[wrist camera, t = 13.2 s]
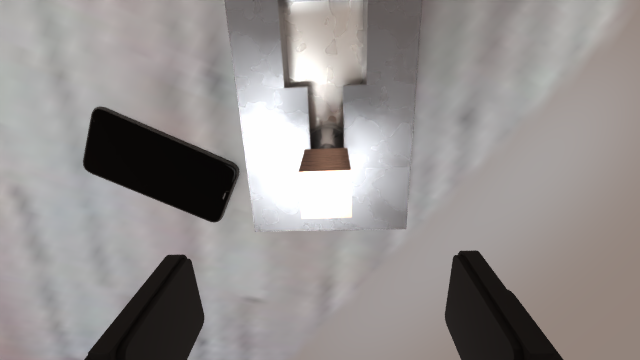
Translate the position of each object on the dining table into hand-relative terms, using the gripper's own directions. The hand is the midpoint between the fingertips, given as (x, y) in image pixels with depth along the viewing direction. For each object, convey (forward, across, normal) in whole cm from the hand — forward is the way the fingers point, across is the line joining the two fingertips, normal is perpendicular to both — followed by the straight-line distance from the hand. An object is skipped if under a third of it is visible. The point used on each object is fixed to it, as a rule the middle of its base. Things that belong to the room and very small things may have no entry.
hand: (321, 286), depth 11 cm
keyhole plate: (+21, 0, -3) cm, 21 cm away
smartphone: (+21, +17, +3) cm, 27 cm away
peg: (+20, 0, +1) cm, 20 cm away
